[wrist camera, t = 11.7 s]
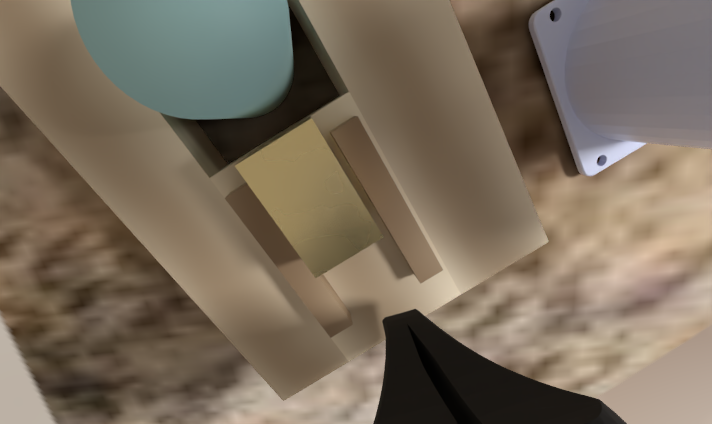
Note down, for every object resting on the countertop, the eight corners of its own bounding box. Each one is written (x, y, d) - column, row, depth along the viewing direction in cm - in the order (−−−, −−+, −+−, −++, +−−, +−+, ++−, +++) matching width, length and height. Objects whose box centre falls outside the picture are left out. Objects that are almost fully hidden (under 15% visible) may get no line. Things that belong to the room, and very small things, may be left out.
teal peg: (260, -13, 13) (218, -152, 6) (312, 89, 14) (324, 65, 7) (164, 37, 13) (17, -49, 6) (225, 135, 14) (158, 152, 7)
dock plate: (329, -179, 12) (341, -308, 8) (507, 219, 17) (562, 249, 13) (11, 24, 12) (-114, -13, 8) (286, 353, 17) (282, 416, 14)
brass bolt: (309, 116, 11) (311, 117, 9) (368, 213, 13) (383, 236, 10) (248, 154, 11) (234, 165, 9) (313, 247, 13) (315, 278, 10)
